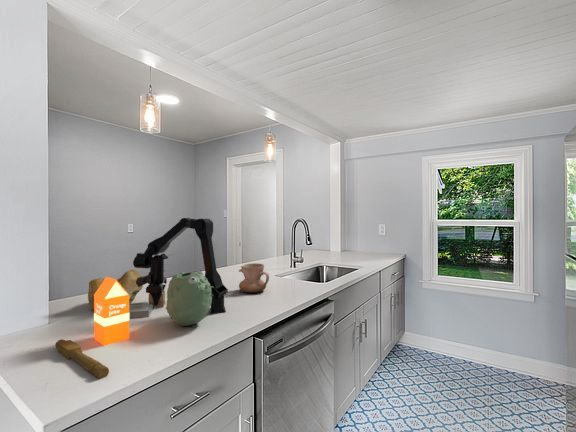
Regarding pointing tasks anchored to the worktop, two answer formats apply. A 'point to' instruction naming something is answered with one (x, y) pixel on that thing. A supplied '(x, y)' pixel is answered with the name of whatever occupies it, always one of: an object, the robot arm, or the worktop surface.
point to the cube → (161, 301)
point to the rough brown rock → (125, 281)
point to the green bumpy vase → (188, 298)
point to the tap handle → (81, 358)
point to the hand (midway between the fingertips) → (157, 303)
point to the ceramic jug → (253, 278)
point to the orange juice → (111, 313)
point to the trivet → (140, 310)
